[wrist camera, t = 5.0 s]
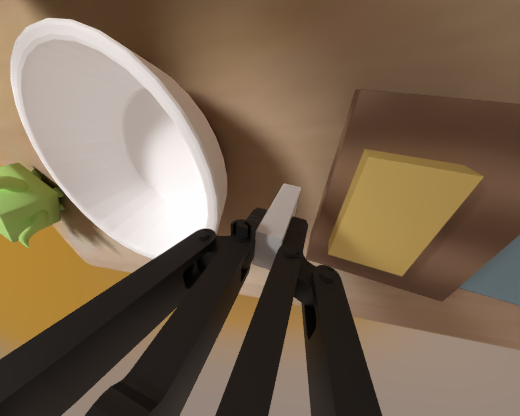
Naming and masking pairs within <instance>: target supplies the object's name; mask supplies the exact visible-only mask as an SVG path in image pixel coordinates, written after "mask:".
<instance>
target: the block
mask: <svg viewBox="0 0 520 416" xmlns="http://www.w3.org/2000/svg"><path fill="white" fill-rule="evenodd" d="M483 177H484V176H482V175H480V174H479V173H477V172H475V171H473V170H472V169H470V168H468V167H467V166H465V165H460V164H454V163H448V162H442V161H436V160H429V159H423V158H417V157H411V156H405V155H399V154H392V153H386V152H380V151H374V150H368V149H364V152H363V154H362V157H361V160H360V162H359V165H358V167H357V170H356V172H355V175H354V177H353V180H352V182H351V185H350V187H349V190H348V193H347V195H346V198H345V200H344V203H343V205H342V208H341V210H340V213H339V215H338V218H337V220H336V223H335V225H334V228H333V231H332V233H331V236H330V238H329V244H328V254H329V255H332V256H335V257H339V258H342V259H345V260H349V261H352V262H355V263H359V264H362V265H365V266H369V267H372V268H375V269H379V270H382V271H385V272H389V273H392V274H396V275H399V276H403V275H404V274H405V272H406V271H407V270H408V269H409V267H410V266H411V265H412V264H413V263H414V261H415V260H416V259H417V258H418V257H419V255H420V254H421V253H422V252H423V250H424V249H425V248H426V247H427V246H428V244H429V243H430V242H431V241H432V239H433V238H434V237H435V236H436V235H437V233H438V232H439V231H440V230H441V228H442V227H443V226H444V225H445V224H446V222H447V221H448V220H449V219H450V218H451V216H452V215H453V214H454V213H455V211H456V210H457V209H458V208H459V207H460V205H461V204H462V203H463V202H464V200H465V199H466V198H467V197H468V196H469V194H470V193H471V192H472V191H473V190H474V188H475V187H476V186H477V185H478V183H479V182H480V181H481V180H482V179H483Z"/></svg>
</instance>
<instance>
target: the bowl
mask: <svg viewBox="0 0 520 416" xmlns="http://www.w3.org/2000/svg"><path fill="white" fill-rule="evenodd" d="M10 60H11V84H12V89H13V94H14V99H15V104H16V107H17V109H18V112H19V115H20V118H21V121H22V124H23V126H24V128H25V130H26V133H27V135H28V137H29V139H30V141H31V143H32V145H33V147H34V149H35V151H36V152H37V154H38V156H39V157H40V159H41V161H42V162H43V164H44V166H45V167H46V169H47V170H48V172H49V173H50V174H51V176H52V177H53V179H54V180H55V182H56V183H57V184H58V185H59V187H60V188H61V189H62V190H63V192H64V193H65V194H66V195H67V197H68V198H69V199H70V200H71V201H72V202H73V203H74V204H75V205H76V206H77V208H78V209H79V210H80V211H81V212H82V213H83V214H84V215H85V216H86V217H87V218H89V219H90V220H91V221H92V222H93V223H94V224H95V225H96V226H97V227H99V228H100V229H101V230H102V231H104V232H105V233H106V234H107V235H109V236H110V237H111V238H113V239H114V240H116V241H117V242H119V243H120V244H122V245H123V246H125V247H127V248H129V249H131V250H132V251H134V252H136V253H138V254H141V255H143V256H146V257H148V258H151V259H154V258H156V257H157V256H159V255H160V254H162V253H164V252H165V251H167V250H168V249H170V248H171V247H173V246H174V245H176V244H177V243H179V242H180V241H182V240H183V239H185V238H186V237H188V236H189V235H191V234H193V233H194V232H196V231H197V230H200V229H204V228H206V229H211V230H213V231H214V232H215V233H216V234H217V230H218V227H219V224H220V220H221V217H222V213H223V210H224V206H225V201H226V197H227V174H226V168H225V163H224V158H223V155H222V152H221V150H220V147H219V144H218V141H217V138H216V136H215V134H214V132H213V130H212V129H211V127H210V125H209V123H208V121H207V119H206V117H205V116H204V114H203V113H202V112H201V110H200V109H199V108H198V106H197V105H196V104H195V102H194V101H193V99H192V98H191V97H190V95H189V94H188V93H187V92H186V91H185V90H184V89H183V88H182V87H181V86H180V85H178V84H177V83H176V82H175V81H174V80H173V79H172V78H171V77H170V76H169V75H167V74H166V73H164V72H163V71H161V70H160V69H158V68H157V67H156V66H154V65H153V64H151V63H150V62H148V61H146V60H145V59H143V58H142V57H140V56H139V55H137V54H136V53H134V52H133V51H131V50H129V49H128V48H126V47H125V46H123V45H122V44H120V43H119V42H117V41H116V40H114V39H112V38H111V37H109V36H108V35H106V34H105V33H103V32H102V31H100V30H97V29H95V28H92V27H90V26H87V25H85V24H82V23H80V22H77V21H75V20H72V19H58V18H46V19H44V20H41V21H39V22H36V23H34V24H31V25H29V26H27V27H26V28H25V29H24V31H23V32H22V33H21V34H20V36H19V37H18V38H17V39H16V41H15V44H14V48H13V52H12V56H11V59H10Z"/></svg>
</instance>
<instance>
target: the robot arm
mask: <svg viewBox="0 0 520 416" xmlns="http://www.w3.org/2000/svg"><path fill="white" fill-rule="evenodd" d="M301 188H302V187H298V186H294V185H290V184H285V183H284V184H283V185H282V187H281V189H280V190H279V192H278V194H277V196H276V197H275V199H274V201H273V202H272V204H271V206H270V208H269V209H268V210H265V209H261V208H256V209H255V210H253V211H252V212H251V214H250V215H249V217H248V218H247V219H246V220H242V219H241V220H236V221H233V222H232V223H231V235H230V236H216V233H215V232H214V231H213V230H211V229H206V228H204V229H200V230H197V231H196V232H194V233H193V234H191V235H189V236H188V237H186V238H185V239H183V240H182V241H180V242H179V243H177V244H176V245H174V246H173V247H171V248H170V249H168V250H167V251H165V252H164V253H162V254H160V255H159V256H157V257H156V258H154V259H153V260H151V261H150V262H148V263H147V264H145V265H144V266H142V267H141V268H139V269H138V270H136V271H135V272H133V273H131V274H130V275H129V276H127V277H126V278H124V279H122V280H121V281H119V282H118V283H116V284H115V285H113V286H112V287H110V288H109V289H107V290H106V291H104V292H103V293H101V294H99V295H98V296H96V297H95V298H93V299H92V300H90V301H89V302H87V303H86V304H84V305H83V306H81V307H80V308H78V309H77V310H75V311H74V312H72V313H70V314H69V315H67V316H66V317H64V318H63V319H62V320H60V321H58V322H57V323H55V324H54V325H52V326H51V327H49V328H47V329H46V330H44V331H43V332H42V333H40V334H38V335H37V336H35V337H34V338H32V339H31V340H29V341H28V342H26V343H25V344H23V345H22V346H20V347H19V348H17V349H15V350H14V351H12V352H11V353H10V354H8V355H6V356H5V357H3V358H2V359H0V416H61V415H62V414H63V413H64V412H65V411H66V410H68V409H69V408H70V407H71V406H72V405H73V404H74V403H76V401H78V400H79V399H80V398H81V397H82V396H83V395H84V394H85V393H86V392H87V391H88V390H89V389H91V388H92V387H93V386H94V385H95V384H96V383H97V382H98V381H99V380H100V379H101V378H102V377H103V376H104V375H105V374H106V373H107V372H109V371H110V370H111V369H112V368H113V367H114V366H115V365H116V364H117V363H118V362H119V361H120V360H121V359H122V358H123V357H125V356H126V355H127V354H128V353H129V352H130V351H131V350H132V349H133V348H134V347H135V346H136V345H137V344H138V343H139V342H140V341H142V340H143V339H144V338H145V337H146V336H147V335H148V334H149V333H150V332H151V331H152V330H153V329H154V328H155V327H156V326H157V325H159V324H160V323H161V322H162V321H163V320H164V319H165V318H166V317H167V316H168V315H169V314H170V313H171V312H172V311H173V310H175V309H176V308H177V309H176V310H175V311H174V312H173V314H172V315H171V316H170V318H169V319H168V321H167V322H166V323H165V325H164V326H163V327H162V329H161V330H160V331H159V333H158V334H157V336H156V337H155V338H154V340H153V341H152V342H151V344H150V345H149V346H148V348H147V349H146V350H145V352H144V353H143V355H142V356H141V357H140V359H139V360H138V361H137V363H136V364H135V365H134V367H133V368H132V369H131V371H130V372H129V373H128V374H127V376H126V377H125V378H124V379H123V380H121V381H120V382H118V383H116V384H115V385H113V386H111V387H110V388H109V389H108V390H106V391H105V392H104V393H103V394H102V395H101V396H100V397H99V399H98V400H97V401H96V402H95V403H94V404H93V405H92V407H91V408H90V409H89V411H88V412H87V413H86V415H85V416H180V413H181V411H182V409H183V407H184V405H185V403H186V401H187V398H188V397H189V395H190V393H191V391H192V388H193V386H194V384H195V382H196V380H197V378H198V376H199V374H200V372H201V370H202V368H203V366H204V364H205V361H206V360H207V357H208V355H209V353H210V351H211V349H212V347H213V345H214V343H215V341H216V338H217V337H218V335H219V333H220V331H221V328H222V327H223V324H224V322H225V320H226V318H227V316H228V314H229V312H230V310H231V308H232V306H233V304H234V302H235V300H236V298H237V296H238V293H239V291H240V289H241V287H242V285H243V283H244V281H245V279H246V277H247V275H248V273H249V270H250V264H251V262H252V260H253V264H254V265H257V266H260V267H263V268H266V269H269V270H270V272H269V275H268V278H267V280H266V283H265V286H264V288H263V291H262V293H261V296H260V299H259V302H258V304H257V307H256V309H255V312H254V315H253V317H252V320H251V323H250V325H249V328H248V331H247V333H246V336H245V339H244V341H243V344H242V347H241V350H240V352H239V355H238V357H237V360H236V362H235V365H234V368H233V371H232V373H231V376H230V378H229V381H228V384H227V387H226V389H225V392H224V394H223V397H222V400H221V402H220V405H219V408H218V410H217V413H216V415H215V416H268V414H269V409H270V404H271V400H272V394H273V390H274V386H275V381H276V376H277V371H278V367H279V362H280V358H281V353H282V348H283V344H284V339H285V334H286V329H287V325H288V320H289V316H290V311H291V306H292V302H293V297H295V298H296V299H298V300H299V301H300V302H302V314H303V326H304V337H305V349H306V360H307V372H308V384H309V395H310V405H311V406H310V407H311V416H382V413H381V410H380V407H379V403H378V400H377V397H376V394H375V390H374V387H373V384H372V380H371V377H370V373H369V370H368V367H367V364H366V361H365V357H364V354H363V350H362V347H361V344H360V341H359V337H358V334H357V330H356V327H355V324H354V320H353V317H352V314H351V310H350V307H349V304H348V301H347V297H346V294H345V291H344V287H343V284H342V281H341V278H340V276H339V274H338V273H337V272H336V271H335V270H334V269H333V268H331V267H329V266H326V265H319V266H317V267H316V266H314V265H312V264H311V263H309V262H308V261H307V260H306V259H305V257H304V255H303V248H304V243H305V238H306V234H307V229H308V223H307V221H306V220H304V219H300V218H297V217H294V216H295V213H296V209H297V205H298V200H299V196H300V192H301Z"/></svg>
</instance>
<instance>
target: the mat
mask: <svg viewBox="0 0 520 416" xmlns="http://www.w3.org/2000/svg"><path fill="white" fill-rule="evenodd" d="M459 288H461V289H464V290H468V291H471V292H475V293H478V294H482V295H485V296H488V297H492V298H495V299H499V300H502V301H505V302H509V303H512V304H516V305H519V306H520V235H519V236H518V237H516V238H515V239H514V240H513V241H512V242H511V243H509V244H508V245H507V246H506V247H505V248H504V249H503V250H501V251H500V252H499V253H498V254H497V255H496V256H494V257H493V258H492V259H491V260H490V261H489V262H487V263H486V264H485V265H484V266H483V267H482V268H481V269H479V270H478V271H477V272H476V273H475V274H474V275H472V276H471V277H470V278H469V279H468V280H467V281H465V282H464V283H463V284H462V285H461V286H460V287H459Z"/></svg>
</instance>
